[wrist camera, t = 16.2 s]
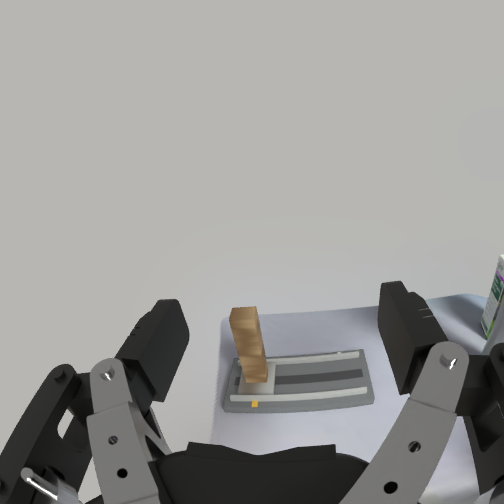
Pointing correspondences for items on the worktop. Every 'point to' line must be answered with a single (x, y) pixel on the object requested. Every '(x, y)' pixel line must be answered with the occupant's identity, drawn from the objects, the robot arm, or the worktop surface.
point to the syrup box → (494, 298)
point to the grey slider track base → (307, 384)
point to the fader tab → (251, 353)
